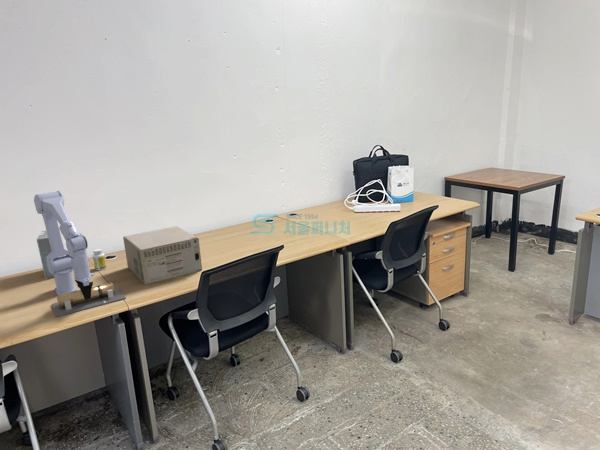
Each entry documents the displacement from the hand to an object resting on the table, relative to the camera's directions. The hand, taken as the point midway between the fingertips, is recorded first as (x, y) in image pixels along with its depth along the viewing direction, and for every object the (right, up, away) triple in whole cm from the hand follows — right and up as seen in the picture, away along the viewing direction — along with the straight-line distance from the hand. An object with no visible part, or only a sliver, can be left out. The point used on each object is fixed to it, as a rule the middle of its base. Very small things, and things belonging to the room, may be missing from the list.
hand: (86, 296), depth 183 cm
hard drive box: (-33, +6, +38) cm, 50 cm away
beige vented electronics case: (+21, +8, +35) cm, 42 cm away
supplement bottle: (-12, +7, +40) cm, 42 cm away
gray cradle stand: (+1, -2, +1) cm, 3 cm away
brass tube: (0, -2, +1) cm, 2 cm away
